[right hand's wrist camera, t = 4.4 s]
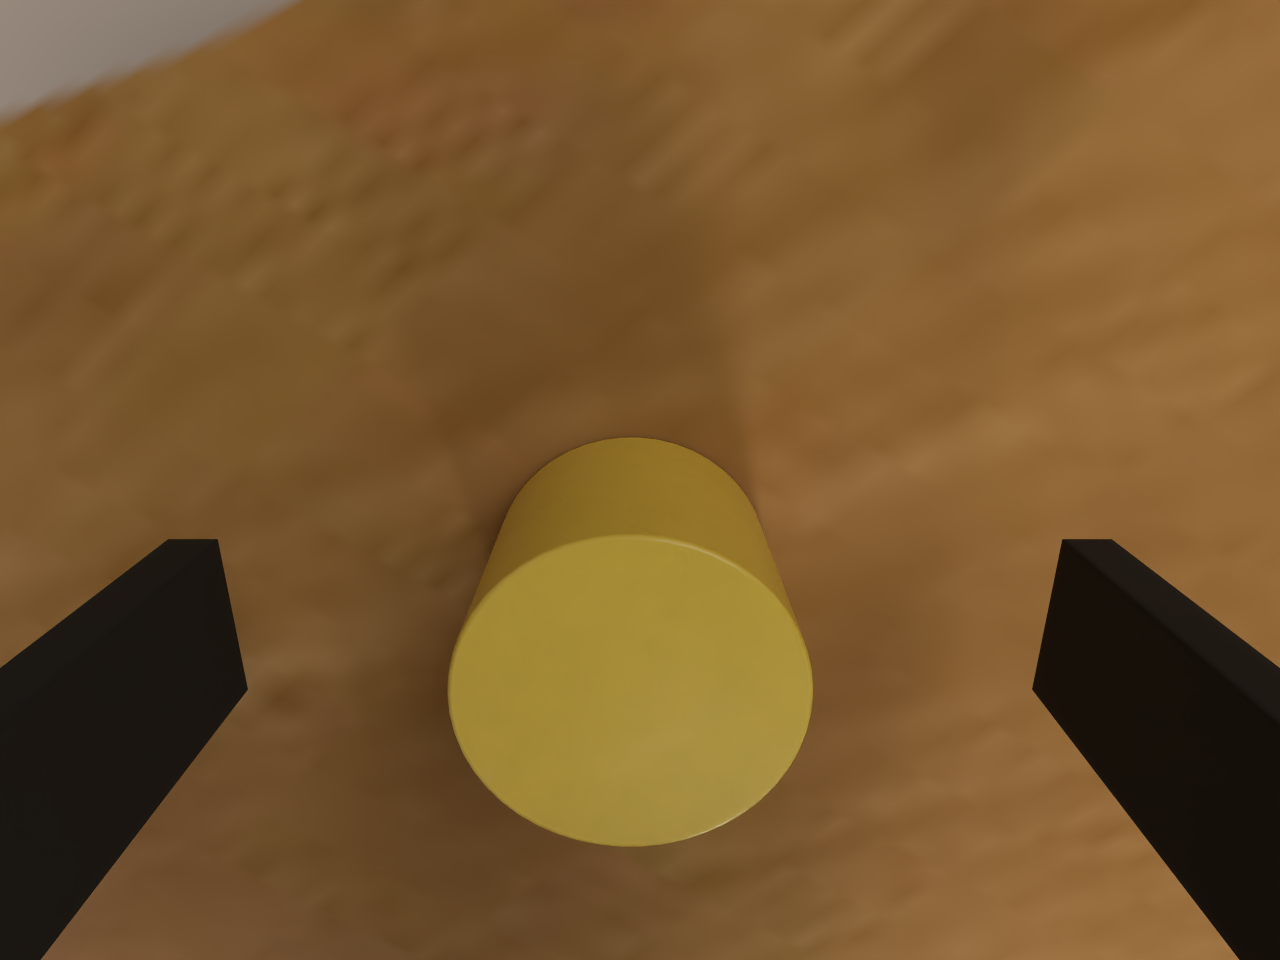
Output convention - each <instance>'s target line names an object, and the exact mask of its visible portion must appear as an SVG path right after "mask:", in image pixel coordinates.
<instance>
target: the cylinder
mask: <svg viewBox="0 0 1280 960" xmlns="http://www.w3.org/2000/svg"><path fill="white" fill-rule="evenodd" d="M447 696H448V706H449V714H450V718H451V722H452V726H453V730H454V733H455V736H456V738H457V741H458V743H459V745H460V748H461V750H462V753H463V754H464V756H465V758H466V759H467V761H468V763H469V764H470V766H471V768H472V769H473V771H474V772H475V773H476V775H477V776H478V777H479V779H480V780H481V781H482V782H483V784H484V785H485V786H486V787H487V788H488V789H489V790H490V791H491V792H492V793H493V794H494V795H495V796H496V797H497V798H498V799H499V800H500V801H501V802H503V803H504V804H505V805H507V806H508V807H509V808H511V809H512V810H513V811H515V812H516V813H517V814H519V815H521V816H522V817H524V818H526V819H527V820H529V821H531V822H533V823H534V824H536V825H538V826H540V827H543V828H545V829H547V830H549V831H552V832H554V833H556V834H559V835H562V836H566V837H569V838H572V839H575V840H579V841H584V842H589V843H594V844H599V845H609V846H619V847H638V846H651V845H660V844H667V843H672V842H676V841H681V840H685V839H689V838H692V837H695V836H698V835H701V834H704V833H707V832H709V831H711V830H713V829H715V828H718V827H720V826H722V825H724V824H726V823H728V822H730V821H731V820H733V819H735V818H736V817H738V816H740V815H741V814H743V813H745V812H746V811H747V810H748V809H750V808H751V807H752V806H754V805H755V804H756V803H757V802H759V801H760V800H761V799H762V798H763V797H764V796H765V795H766V794H767V793H768V792H769V791H770V790H771V789H772V788H773V787H774V786H775V785H776V784H777V783H778V782H779V780H780V779H781V778H782V776H783V775H784V774H785V772H786V771H787V770H788V769H789V767H790V765H791V763H792V762H793V760H794V758H795V756H796V755H797V753H798V751H799V749H800V746H801V744H802V741H803V739H804V736H805V734H806V731H807V728H808V723H809V719H810V715H811V711H812V700H813V678H812V668H811V663H810V659H809V655H808V650H807V647H806V645H805V642H804V639H803V637H802V634H801V631H800V629H799V626H798V623H797V621H796V618H795V615H794V613H793V610H792V607H791V605H790V602H789V599H788V597H787V594H786V592H785V589H784V586H783V584H782V581H781V578H780V576H779V573H778V570H777V568H776V565H775V562H774V560H773V557H772V554H771V552H770V549H769V546H768V544H767V541H766V538H765V536H764V533H763V530H762V528H761V525H760V523H759V520H758V518H757V515H756V513H755V510H754V508H753V507H752V505H751V503H750V501H749V500H748V498H747V496H746V495H745V494H744V492H743V491H742V490H741V488H740V487H739V486H738V485H737V483H736V482H735V481H734V480H733V479H732V478H731V477H730V476H729V475H728V474H727V473H726V472H725V471H724V470H722V469H721V468H720V467H718V466H717V465H716V464H714V463H713V462H711V461H710V460H709V459H707V458H705V457H703V456H701V455H700V454H698V453H696V452H694V451H692V450H689V449H687V448H684V447H682V446H679V445H677V444H673V443H669V442H665V441H661V440H656V439H648V438H615V439H607V440H601V441H597V442H594V443H590V444H586V445H583V446H581V447H578V448H576V449H573V450H571V451H568V452H567V453H565V454H563V455H561V456H559V457H558V458H556V459H554V460H552V461H551V462H550V463H548V464H547V465H546V466H545V467H543V468H542V469H541V470H539V471H538V472H537V473H536V474H535V475H534V476H533V477H532V478H531V479H530V480H529V481H528V482H527V483H526V484H525V485H524V487H523V488H522V489H521V491H520V492H519V493H518V495H517V496H516V497H515V499H514V501H513V503H512V505H511V506H510V508H509V510H508V512H507V514H506V517H505V519H504V522H503V524H502V527H501V530H500V532H499V535H498V537H497V540H496V542H495V545H494V547H493V550H492V552H491V555H490V557H489V560H488V562H487V565H486V567H485V570H484V572H483V575H482V578H481V580H480V583H479V585H478V588H477V590H476V593H475V595H474V598H473V600H472V603H471V605H470V608H469V610H468V613H467V615H466V618H465V620H464V623H463V626H462V628H461V631H460V633H459V636H458V638H457V641H456V644H455V646H454V649H453V652H452V656H451V661H450V666H449V670H448V685H447Z"/></svg>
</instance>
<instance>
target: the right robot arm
mask: <svg viewBox="0 0 1280 960" xmlns="http://www.w3.org/2000/svg"><path fill="white" fill-rule="evenodd" d="M247 690H248V688H247V683H246V678H245V673H244V668H243V663H242V658H241V653H240V648H239V643H238V638H237V633H236V628H235V623H234V618H233V613H232V608H231V604H230V599H229V594H228V589H227V584H226V579H225V574H224V569H223V564H222V559H221V554H220V549H219V544H218V539H168V540H167V541H165V542H164V543H163V544H162V545H160V546H159V547H158V548H156V549H155V550H154V551H152V552H151V553H150V554H148V555H147V556H146V557H145V558H143V559H142V560H141V561H139V562H138V563H137V564H135V565H134V566H133V567H132V568H130V569H129V570H128V571H126V572H125V573H124V574H122V575H121V576H120V577H118V578H117V579H116V580H115V581H113V582H112V583H111V584H109V585H108V586H107V587H105V588H104V589H103V590H102V591H100V592H99V593H98V594H96V595H95V596H94V597H92V598H91V599H90V600H88V601H87V602H86V603H85V604H83V605H82V606H81V607H79V608H78V609H77V610H75V611H74V612H73V613H71V614H70V615H69V616H68V617H66V618H65V619H64V620H62V621H61V622H60V623H58V624H57V625H56V626H55V627H53V628H52V629H51V630H49V631H48V632H47V633H45V634H44V635H43V636H41V637H40V638H39V639H38V640H36V641H35V642H34V643H32V644H31V645H30V646H28V647H27V648H26V649H25V650H23V651H22V652H21V653H19V654H18V655H17V656H15V657H14V658H13V659H11V660H10V661H9V662H8V663H6V664H5V665H4V666H2V667H1V668H0V960H41V958H42V957H43V956H44V955H45V953H46V952H47V951H48V949H49V948H50V947H51V945H52V944H53V943H54V942H55V940H56V939H57V938H58V936H59V935H60V934H61V932H62V931H63V930H64V928H65V927H66V926H67V925H68V923H69V922H70V921H71V919H72V918H73V917H74V915H75V914H76V913H77V912H78V910H79V909H80V908H81V906H82V905H83V904H84V902H85V901H86V900H87V898H88V897H89V896H90V895H91V893H92V892H93V891H94V889H95V888H96V887H97V885H98V884H99V883H100V882H101V880H102V879H103V878H104V876H105V875H106V874H107V872H108V871H109V870H110V868H111V867H112V866H113V865H114V863H115V862H116V861H117V859H118V858H119V857H120V855H121V854H122V853H123V852H124V850H125V849H126V848H127V846H128V845H129V844H130V842H131V841H132V840H133V838H134V837H135V836H136V835H137V833H138V832H139V831H140V829H141V828H142V827H143V825H144V824H145V823H146V822H147V820H148V819H149V818H150V816H151V815H152V814H153V812H154V811H155V810H156V809H157V807H158V806H159V805H160V803H161V802H162V801H163V799H164V798H165V797H166V795H167V794H168V793H169V792H170V790H171V789H172V788H173V786H174V785H175V784H176V782H177V781H178V780H179V779H180V777H181V776H182V775H183V773H184V772H185V771H186V769H187V768H188V767H189V765H190V764H191V763H192V762H193V760H194V759H195V758H196V756H197V755H198V754H199V752H200V751H201V750H202V749H203V747H204V746H205V745H206V743H207V742H208V741H209V739H210V738H211V737H212V735H213V734H214V733H215V732H216V730H217V729H218V728H219V726H220V725H221V724H222V722H223V721H224V720H225V719H226V717H227V716H228V715H229V713H230V712H231V711H232V709H233V708H234V707H235V705H236V704H237V703H238V702H239V700H240V699H241V698H242V696H243V695H244V694H245V692H246V691H247ZM1032 690H1033V691H1034V692H1035V694H1036V695H1037V696H1038V698H1039V699H1040V700H1041V702H1042V703H1043V704H1044V705H1045V707H1046V708H1047V709H1048V711H1049V712H1050V713H1051V715H1052V716H1053V717H1054V719H1055V720H1056V721H1057V722H1058V724H1059V725H1060V726H1061V728H1062V729H1063V730H1064V732H1065V733H1066V734H1067V735H1068V737H1069V738H1070V739H1071V741H1072V742H1073V743H1074V745H1075V746H1076V747H1077V749H1078V750H1079V751H1080V752H1081V754H1082V755H1083V756H1084V758H1085V759H1086V760H1087V762H1088V763H1089V764H1090V765H1091V767H1092V768H1093V769H1094V771H1095V772H1096V773H1097V775H1098V776H1099V777H1100V779H1101V780H1102V781H1103V782H1104V784H1105V785H1106V786H1107V788H1108V789H1109V790H1110V792H1111V793H1112V794H1113V795H1114V797H1115V798H1116V799H1117V801H1118V802H1119V803H1120V805H1121V806H1122V807H1123V809H1124V810H1125V811H1126V812H1127V814H1128V815H1129V816H1130V818H1131V819H1132V820H1133V822H1134V823H1135V824H1136V825H1137V827H1138V828H1139V829H1140V831H1141V832H1142V833H1143V835H1144V836H1145V837H1146V838H1147V840H1148V841H1149V842H1150V844H1151V845H1152V846H1153V848H1154V849H1155V850H1156V852H1157V853H1158V854H1159V855H1160V857H1161V858H1162V859H1163V861H1164V862H1165V863H1166V865H1167V866H1168V867H1169V868H1170V870H1171V871H1172V872H1173V874H1174V875H1175V876H1176V878H1177V879H1178V880H1179V882H1180V883H1181V884H1182V885H1183V887H1184V888H1185V889H1186V891H1187V892H1188V893H1189V895H1190V896H1191V897H1192V898H1193V900H1194V901H1195V902H1196V904H1197V905H1198V906H1199V908H1200V909H1201V910H1202V912H1203V913H1204V914H1205V915H1206V917H1207V918H1208V919H1209V921H1210V922H1211V923H1212V925H1213V926H1214V927H1215V928H1216V930H1217V931H1218V932H1219V934H1220V935H1221V936H1222V938H1223V939H1224V940H1225V942H1226V943H1227V944H1228V945H1229V947H1230V948H1231V949H1232V951H1233V952H1234V953H1235V955H1236V956H1237V957H1238V958H1239V960H1280V668H1279V667H1278V666H1276V665H1275V664H1274V663H1272V662H1271V661H1270V660H1269V659H1267V658H1266V657H1265V656H1263V655H1262V654H1261V653H1259V652H1258V651H1257V650H1255V649H1254V648H1253V647H1252V646H1250V645H1249V644H1248V643H1246V642H1245V641H1244V640H1242V639H1241V638H1240V637H1239V636H1237V635H1236V634H1235V633H1233V632H1232V631H1231V630H1229V629H1228V628H1227V627H1225V626H1224V625H1223V624H1222V623H1220V622H1219V621H1218V620H1216V619H1215V618H1214V617H1212V616H1211V615H1210V614H1209V613H1207V612H1206V611H1205V610H1203V609H1202V608H1201V607H1199V606H1198V605H1197V604H1195V603H1194V602H1193V601H1192V600H1190V599H1189V598H1188V597H1186V596H1185V595H1184V594H1182V593H1181V592H1180V591H1178V590H1177V589H1176V588H1175V587H1173V586H1172V585H1171V584H1169V583H1168V582H1167V581H1165V580H1164V579H1163V578H1162V577H1160V576H1159V575H1158V574H1156V573H1155V572H1154V571H1152V570H1151V569H1150V568H1148V567H1147V566H1146V565H1145V564H1143V563H1142V562H1141V561H1139V560H1138V559H1137V558H1135V557H1134V556H1133V555H1132V554H1130V553H1129V552H1128V551H1126V550H1125V549H1124V548H1122V547H1121V546H1120V545H1118V544H1117V543H1116V542H1115V541H1113V540H1112V539H1062V544H1061V549H1060V554H1059V559H1058V564H1057V569H1056V574H1055V579H1054V584H1053V589H1052V594H1051V599H1050V604H1049V608H1048V613H1047V618H1046V623H1045V628H1044V633H1043V638H1042V643H1041V648H1040V653H1039V658H1038V663H1037V668H1036V673H1035V678H1034V683H1033V688H1032Z"/></svg>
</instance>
